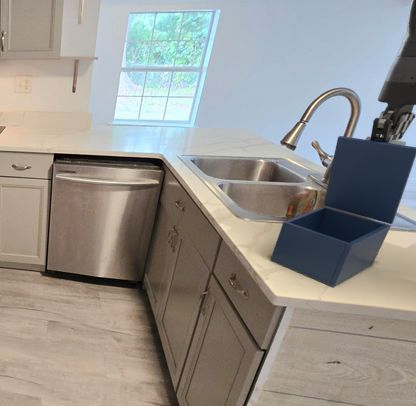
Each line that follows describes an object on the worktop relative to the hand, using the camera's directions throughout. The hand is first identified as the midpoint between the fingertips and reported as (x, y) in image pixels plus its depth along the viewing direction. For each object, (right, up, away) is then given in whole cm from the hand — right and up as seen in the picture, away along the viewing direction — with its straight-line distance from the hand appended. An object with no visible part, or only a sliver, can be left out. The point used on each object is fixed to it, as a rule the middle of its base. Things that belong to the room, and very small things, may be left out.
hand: (377, 159), depth 82 cm
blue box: (-7, -25, +7) cm, 26 cm away
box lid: (-2, -5, +1) cm, 5 cm away
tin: (+8, -15, +30) cm, 34 cm away
